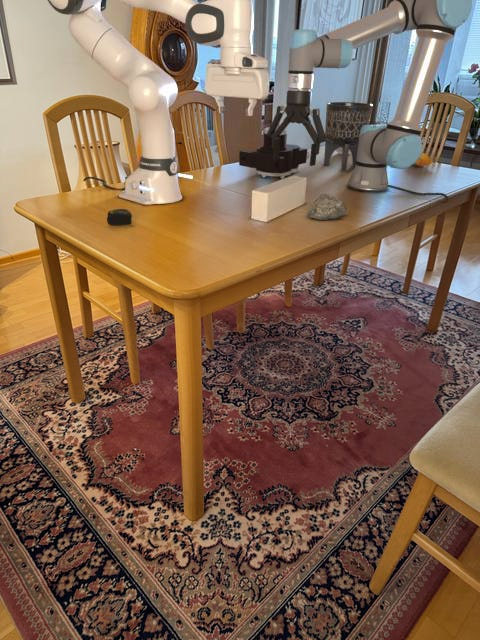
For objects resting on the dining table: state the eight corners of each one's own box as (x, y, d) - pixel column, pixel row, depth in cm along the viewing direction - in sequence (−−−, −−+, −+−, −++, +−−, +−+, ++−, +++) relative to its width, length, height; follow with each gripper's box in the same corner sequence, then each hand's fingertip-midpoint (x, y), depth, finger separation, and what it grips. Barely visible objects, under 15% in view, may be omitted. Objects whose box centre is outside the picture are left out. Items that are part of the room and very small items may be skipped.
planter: (313, 167, 208) (319, 103, 195) (331, 160, 222) (338, 101, 209) (353, 173, 199) (362, 107, 185) (369, 166, 213) (379, 104, 199)
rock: (331, 208, 151) (334, 189, 147) (352, 215, 145) (356, 195, 142) (304, 216, 143) (306, 195, 140) (325, 223, 137) (328, 202, 134)
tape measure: (107, 228, 130) (105, 215, 128) (109, 220, 136) (108, 208, 134) (131, 227, 131) (130, 214, 129) (133, 220, 137) (131, 207, 135)
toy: (408, 159, 210) (402, 152, 223) (410, 173, 213) (404, 165, 225) (433, 152, 207) (426, 145, 219) (435, 165, 210) (428, 158, 222)
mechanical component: (240, 120, 182) (283, 115, 202) (239, 174, 192) (280, 164, 212) (283, 126, 170) (325, 120, 190) (280, 183, 180) (320, 171, 200)
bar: (290, 200, 159) (292, 175, 155) (304, 203, 157) (306, 177, 152) (251, 218, 141) (252, 190, 137) (266, 222, 138) (267, 193, 134)
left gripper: (199, 59, 128) (200, 112, 135) (261, 60, 118) (258, 118, 125) (213, 59, 133) (213, 110, 140) (273, 60, 123) (270, 116, 130)
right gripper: (258, 88, 141) (255, 159, 152) (331, 92, 129) (323, 169, 139) (270, 87, 146) (267, 155, 157) (342, 91, 134) (333, 165, 145)
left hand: (235, 114), depth 133 cm, fingers open, 8 cm apart
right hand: (293, 162), depth 148 cm, fingers open, 13 cm apart
